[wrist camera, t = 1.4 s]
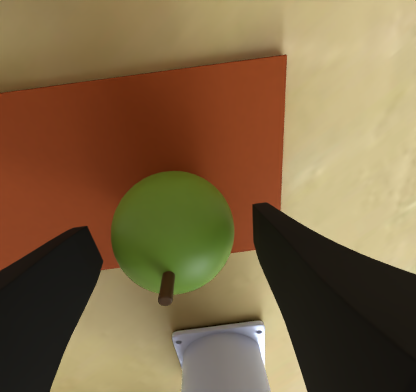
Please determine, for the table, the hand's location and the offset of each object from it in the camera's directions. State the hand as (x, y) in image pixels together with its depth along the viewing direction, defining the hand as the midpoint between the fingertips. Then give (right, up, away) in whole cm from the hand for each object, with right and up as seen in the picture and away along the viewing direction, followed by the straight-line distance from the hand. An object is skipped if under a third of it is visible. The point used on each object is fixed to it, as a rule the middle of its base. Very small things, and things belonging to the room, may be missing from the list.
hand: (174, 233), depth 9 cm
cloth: (-4, +2, +3) cm, 6 cm away
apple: (0, +1, +3) cm, 3 cm away
